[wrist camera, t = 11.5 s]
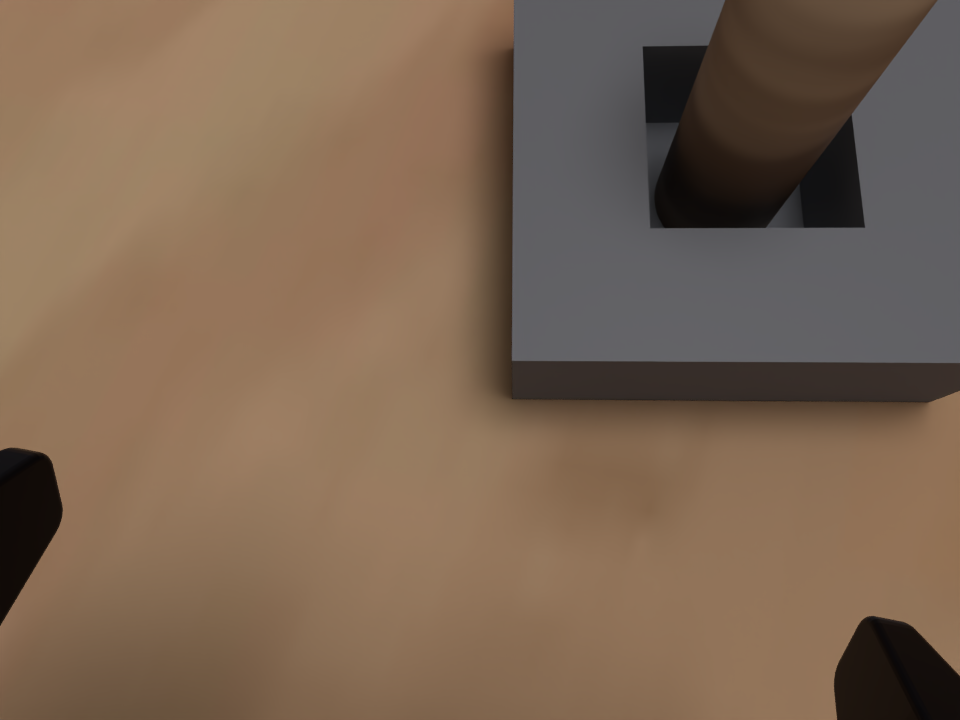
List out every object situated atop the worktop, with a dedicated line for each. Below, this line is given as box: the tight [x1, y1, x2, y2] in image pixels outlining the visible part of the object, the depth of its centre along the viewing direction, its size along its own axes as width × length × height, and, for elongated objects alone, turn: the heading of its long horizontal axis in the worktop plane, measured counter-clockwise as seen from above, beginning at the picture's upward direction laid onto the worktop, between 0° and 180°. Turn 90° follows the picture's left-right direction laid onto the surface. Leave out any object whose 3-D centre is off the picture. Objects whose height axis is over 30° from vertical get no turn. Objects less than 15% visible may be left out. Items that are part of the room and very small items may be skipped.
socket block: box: [512, 0, 960, 402], centre depth 22 cm, size 12×12×4 cm
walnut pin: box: [654, 0, 937, 228], centre depth 18 cm, size 4×4×11 cm
